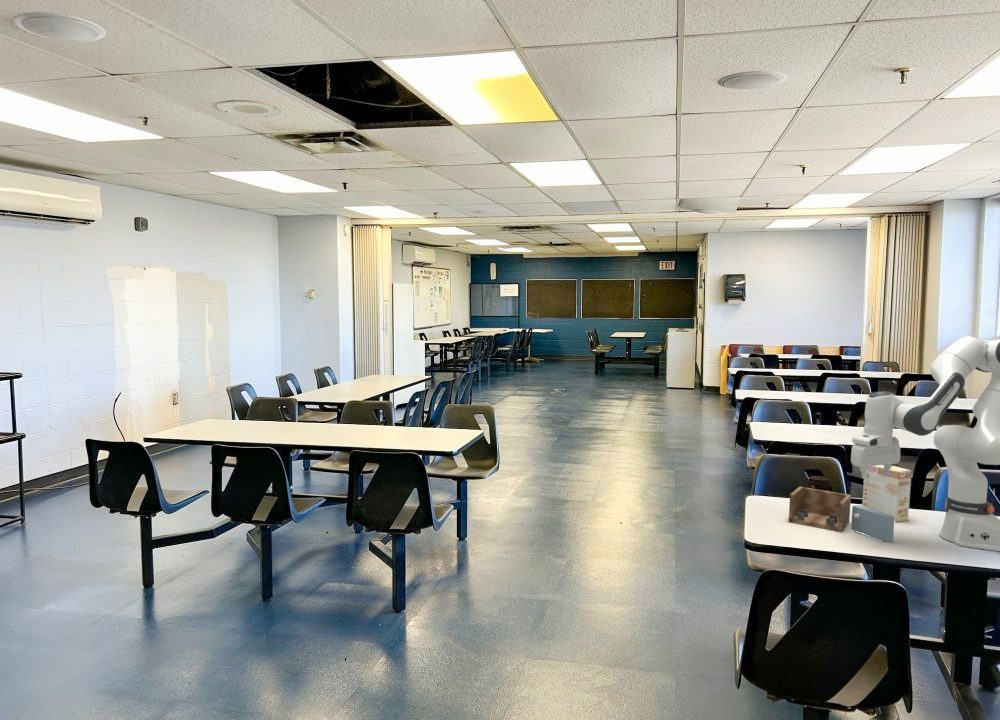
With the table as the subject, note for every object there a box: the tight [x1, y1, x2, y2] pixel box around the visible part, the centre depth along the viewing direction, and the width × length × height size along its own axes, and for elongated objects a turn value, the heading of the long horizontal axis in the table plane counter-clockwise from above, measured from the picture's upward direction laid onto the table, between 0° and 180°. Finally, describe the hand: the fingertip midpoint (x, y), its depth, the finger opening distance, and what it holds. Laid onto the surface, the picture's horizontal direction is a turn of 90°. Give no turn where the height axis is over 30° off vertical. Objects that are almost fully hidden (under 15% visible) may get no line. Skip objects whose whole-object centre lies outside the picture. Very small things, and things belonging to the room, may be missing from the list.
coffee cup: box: [806, 475, 832, 492], centre depth 268 cm, size 9×8×13 cm
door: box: [850, 504, 895, 544], centre depth 239 cm, size 14×4×9 cm, turn 23°
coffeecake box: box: [861, 465, 912, 523], centre depth 262 cm, size 15×7×20 cm, turn 22°
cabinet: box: [788, 486, 852, 533], centre depth 253 cm, size 18×14×10 cm
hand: (874, 477), depth 238 cm, fingers open, 8 cm apart
